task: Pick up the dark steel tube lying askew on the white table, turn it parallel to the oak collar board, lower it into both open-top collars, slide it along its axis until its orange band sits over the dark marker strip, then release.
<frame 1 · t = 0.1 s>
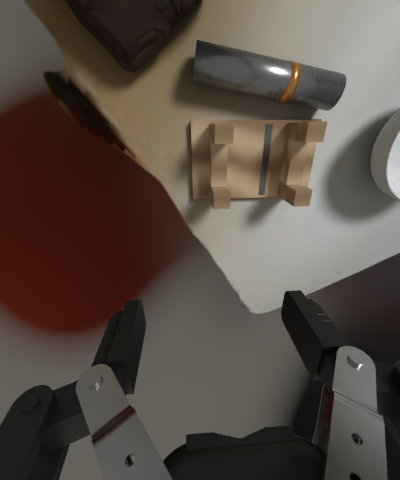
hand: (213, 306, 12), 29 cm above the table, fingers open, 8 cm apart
tube: (262, 81, 32), on the table
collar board: (251, 161, 37), on the table
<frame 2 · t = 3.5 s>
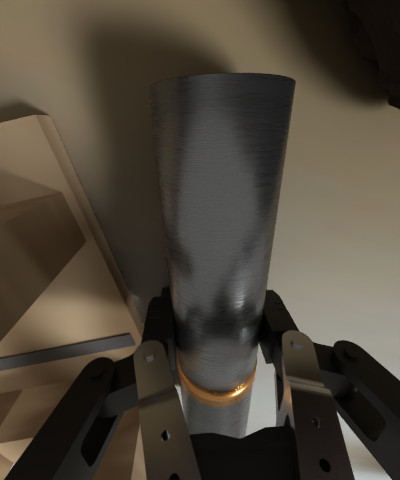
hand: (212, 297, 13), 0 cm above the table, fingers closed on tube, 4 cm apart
tube: (215, 291, 13), on the table, tilted 6°, touching gripper
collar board: (39, 319, 14), on the table
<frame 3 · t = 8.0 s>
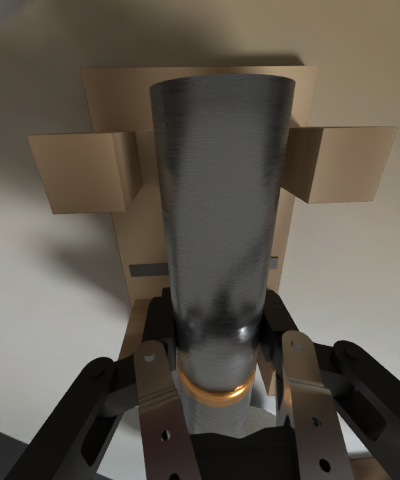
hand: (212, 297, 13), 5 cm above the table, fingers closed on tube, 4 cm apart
tube: (215, 292, 13), point 4 cm above the table, tilted 6°, touching gripper
cereal bowl: (221, 415, 29), on the table
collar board: (203, 236, 17), on the table
when the fingers open (5 cm above the table, at t = 8.9 s): tube stays where it is, resting on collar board.
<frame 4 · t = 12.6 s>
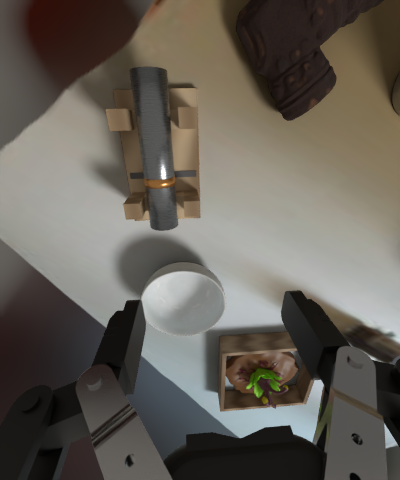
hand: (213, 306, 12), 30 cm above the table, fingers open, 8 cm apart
planter box: (262, 363, 64), on the table
tube: (162, 157, 33), point 4 cm above the table, tilted 11°, touching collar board
plant: (258, 364, 65), resting in planter box
dark brown boot: (296, 38, 31), on the table
cereal bowl: (183, 283, 49), on the table
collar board: (162, 161, 37), on the table
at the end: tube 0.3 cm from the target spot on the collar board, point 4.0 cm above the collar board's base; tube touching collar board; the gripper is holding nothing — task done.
